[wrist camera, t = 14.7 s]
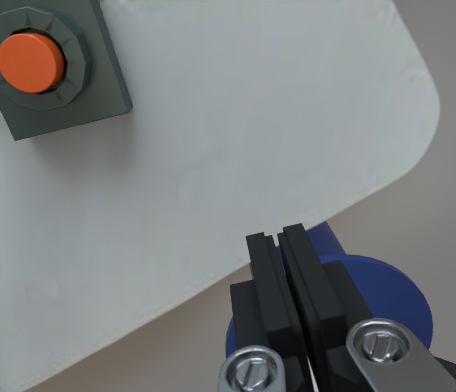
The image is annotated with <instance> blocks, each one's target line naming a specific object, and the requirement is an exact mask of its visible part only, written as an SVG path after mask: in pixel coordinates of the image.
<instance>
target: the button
mask: <svg viewBox="0 0 456 392" xmlns="http://www.w3.org/2000/svg"><path fill="white" fill-rule="evenodd" d="M0 71H1V73H2V75H3V76H4V78H5V79H6V80H7V81H8V82H9V83H10V84H11V85H12V86H13V87H15V88H17V89H19V90H21V91H24V92H28V93H37V92H41V91H44V90H46V89H48V88H50V87H52V86H54V85H55V84H56V83H57V82H59V80H60V79H61V77H62V75H63V72H64V60H63V56H62V54H61V51H60V50H59V48H58V47H57V45H56V44H55V43H54V42H53V41H52V40H50V39H49V38H47V37H46V36H44V35H41V34H38V33H22V34H15V35H12V36H10V37H8V38H7V39H5V40H4V42H3V43H2V44H1V46H0Z"/></svg>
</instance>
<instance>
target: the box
mask: <svg viewBox="0 0 456 392" xmlns="http://www.w3.org/2000/svg"><path fill="white" fill-rule="evenodd" d="M22 33H38V34H41V35H44V36H46V37H47V38H49V39H50V40H52V41H53V42H54V43H55V44H56V45H57V47H58V48H59V50H60V51H61V54H62V56H63V60H64V72H63V75H62V77H61V79H60V80H59V82H57V83H56V84H55V85H54V86H52V87H50V88H48V89H46V90H44V91H41V92H37V93H28V92H24V91H21V90H19V89H17V88H15V87H13V86H12V85H11V84H10V83H9V82H8V81H7V80H6V79H5V78H4V76H3V75H2V73H1V71H0V110H1V112H2V114H3V117H4V119H5V121H6V123H7V125H8V127H9V129H10V132H11V134H12V136H13V138H14V140H15V141H17V140H21V139H25V138H29V137H33V136H37V135H41V134H45V133H49V132H53V131H57V130H61V129H65V128H69V127H73V126H77V125H81V124H85V123H89V122H93V121H97V120H101V119H105V118H109V117H113V116H117V115H121V114H125V113H128V112H129V111H130V110H131V108H132V107H133V105H132V102H131V99H130V96H129V93H128V90H127V87H126V84H125V81H124V78H123V75H122V72H121V69H120V66H119V63H118V60H117V57H116V54H115V51H114V48H113V45H112V42H111V39H110V36H109V33H108V30H107V27H106V24H105V21H104V18H103V14H102V11H101V8H100V5H99V2H98V0H0V46H1V44H2V43H3V42H4V40H5V39H7V38H8V37H10V36H12V35H15V34H22Z"/></svg>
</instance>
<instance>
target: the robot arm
mask: <svg viewBox="0 0 456 392" xmlns="http://www.w3.org/2000/svg"><path fill="white" fill-rule="evenodd" d="M283 231H284V232H283V233H278V234H277V236H278V241H279V245H280V250H281V255H282V260H283V265H284V269H285V274H286V277H285V274H284V271H283V268H282V265H281V262H280V259H279V256H278V253H277V250H276V247H275V244H274V240H273V237H272V235H270V236H265V235H264V232H261V233H257V234H253V235H248V236H246V240H247V245H248V250H249V254H250V259H251V264H252V269H253V274H254V280H249V281H245V282H241V283H237V284H232V285H230V292H231V301H232V310H233V320H234V329H235V338H236V347H237V351H235V352H234V353H232V354H231V355H230V356H229V357H228V358H227V359H226V360H225V362H224V363H223V365H222V367H221V370H220V374H219V381H218V389H217V392H456V364H454V363H452V362H449V361H446V360H443V359H441V358H438V357H435V356H433V355H432V354H431V353H430V352H429V350H428V349H427V348H426V347H425V346H424V345H423V344H422V343H421V342H420V341H419V340H418V339H417V337H416V336H415V335H414V334H413V333H412V332H411V331H410V330H409V329H407V328H406V327H405V326H404V325H402V324H400V323H398V322H396V321H393V320H388V319H384V318H374V317H373V315H372V313H371V312H370V310H369V308H368V306H367V305H366V303H365V301H364V300H363V298H362V296H361V294H360V293H359V291H358V289H357V287H356V286H355V284H354V282H353V280H352V279H351V277H350V275H349V273H348V272H347V270H346V268H345V266H344V265H343V263H342V262H341V261H340V260H336V261H332V262H327V263H323V264H321V262H320V260H319V258H318V256H317V254H316V252H315V250H314V248H313V246H312V244H311V242H310V239H309V237H308V235H307V233H306V231H305V229H304V227H303V225H302V223H300V224H295V225H291V226H287V227H283ZM286 279H287V280H286Z"/></svg>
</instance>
